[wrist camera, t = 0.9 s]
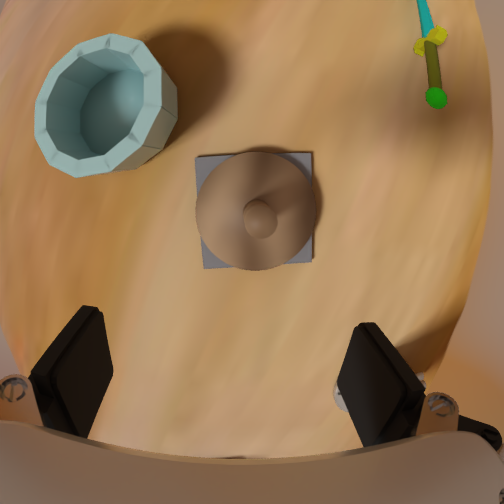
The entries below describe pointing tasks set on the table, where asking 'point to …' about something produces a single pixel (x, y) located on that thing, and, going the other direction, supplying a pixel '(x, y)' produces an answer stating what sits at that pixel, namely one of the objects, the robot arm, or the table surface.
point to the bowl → (105, 108)
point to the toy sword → (431, 55)
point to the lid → (255, 211)
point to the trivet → (209, 163)
